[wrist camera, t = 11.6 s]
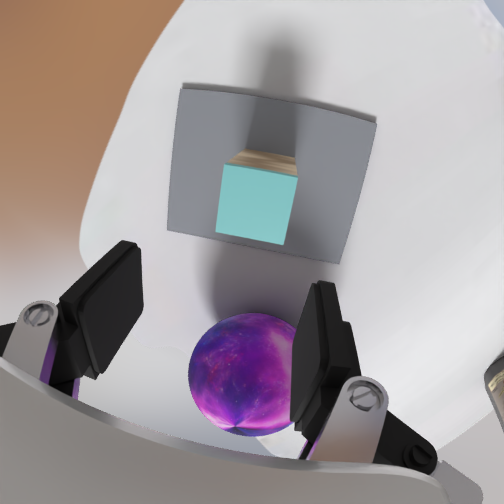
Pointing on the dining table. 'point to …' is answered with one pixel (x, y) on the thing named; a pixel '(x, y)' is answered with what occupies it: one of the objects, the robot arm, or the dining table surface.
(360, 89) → the dining table surface
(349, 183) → the slate mat
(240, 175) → the maple block
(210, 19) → the dining table surface
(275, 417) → the decorative orb
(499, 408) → the liquor
